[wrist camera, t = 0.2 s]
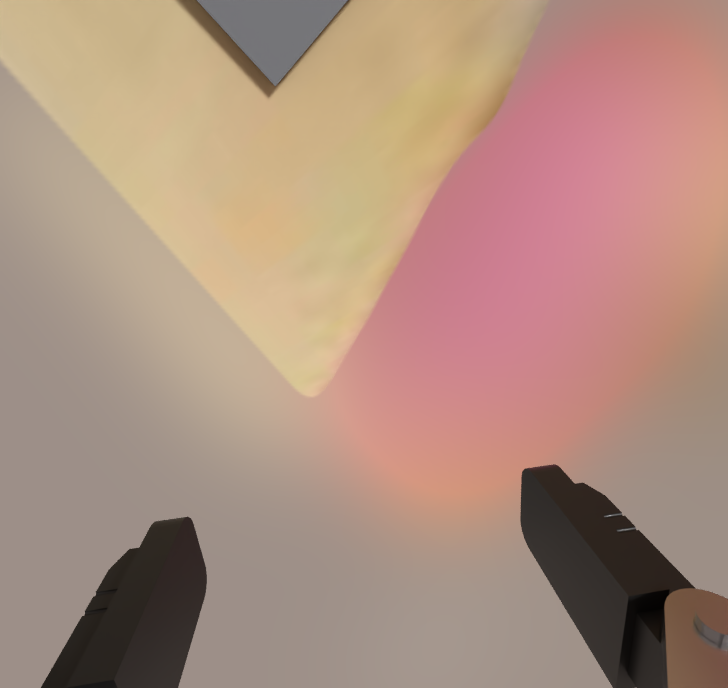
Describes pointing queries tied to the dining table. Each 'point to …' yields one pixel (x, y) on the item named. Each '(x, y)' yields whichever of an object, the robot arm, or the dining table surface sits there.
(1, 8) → the dining table surface
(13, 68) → the dining table surface
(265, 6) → the slate mat
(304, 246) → the dining table surface
